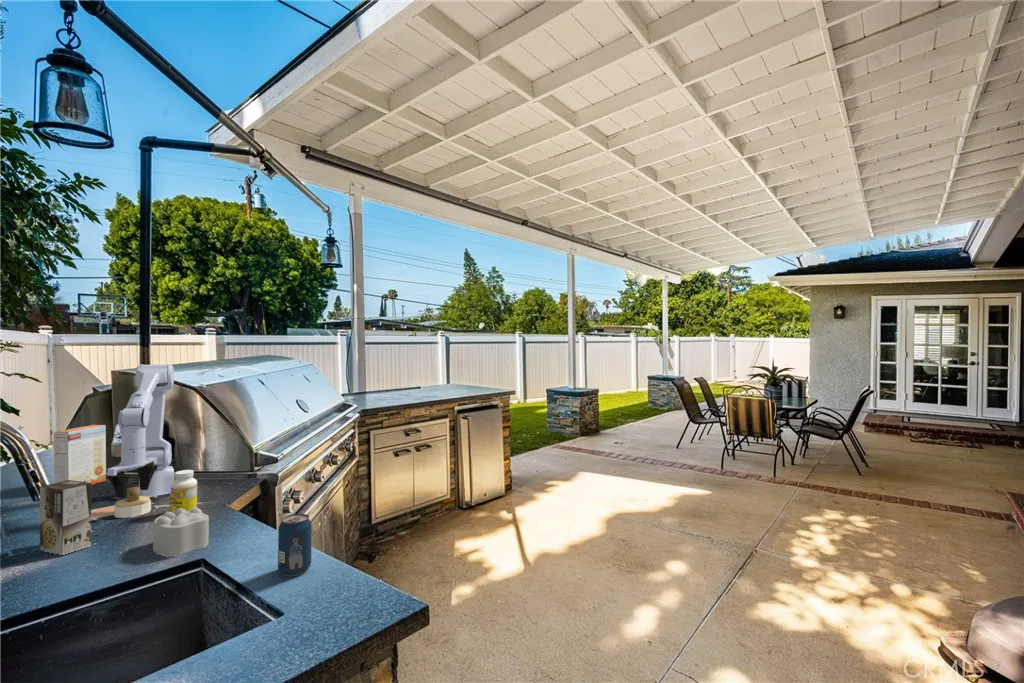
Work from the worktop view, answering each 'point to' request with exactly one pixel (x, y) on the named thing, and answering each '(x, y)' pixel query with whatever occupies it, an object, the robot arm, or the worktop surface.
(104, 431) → the cracker box
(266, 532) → the worktop surface
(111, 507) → the mat
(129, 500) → the bamboo lid
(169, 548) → the beige bumpy block
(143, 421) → the robot arm
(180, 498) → the supplement bottle
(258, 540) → the worktop surface
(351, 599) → the worktop surface
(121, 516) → the bowl
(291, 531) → the soda can
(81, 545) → the coffee box
